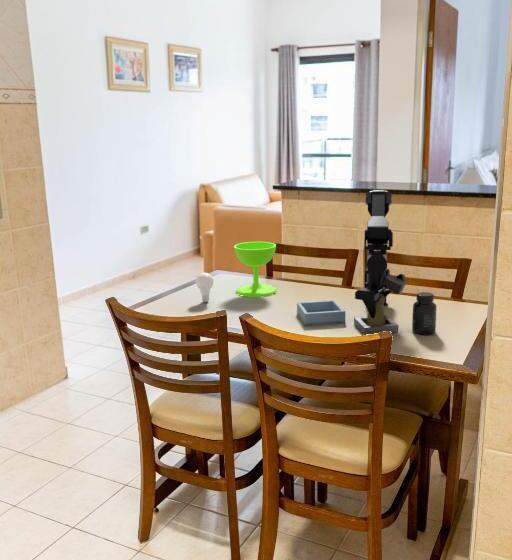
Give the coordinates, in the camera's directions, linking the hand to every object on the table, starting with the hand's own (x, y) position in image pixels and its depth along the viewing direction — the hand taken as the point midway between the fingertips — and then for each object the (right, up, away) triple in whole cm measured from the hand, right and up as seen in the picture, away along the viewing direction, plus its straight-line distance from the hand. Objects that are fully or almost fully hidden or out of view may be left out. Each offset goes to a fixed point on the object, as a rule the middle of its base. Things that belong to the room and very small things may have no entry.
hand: (375, 315), depth 188 cm
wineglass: (-37, +6, +47) cm, 60 cm away
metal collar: (0, -4, +1) cm, 4 cm away
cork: (0, -4, +1) cm, 4 cm away
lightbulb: (-55, +3, +35) cm, 65 cm away
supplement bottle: (+14, -5, -3) cm, 15 cm away
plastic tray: (-16, -2, +13) cm, 20 cm away
